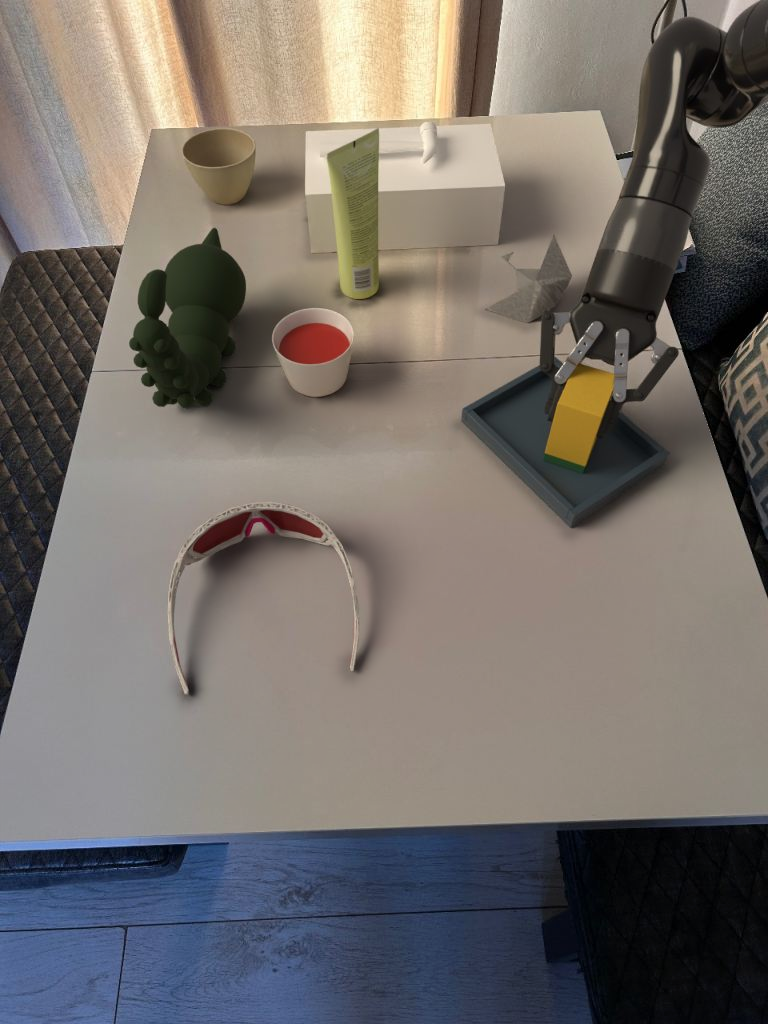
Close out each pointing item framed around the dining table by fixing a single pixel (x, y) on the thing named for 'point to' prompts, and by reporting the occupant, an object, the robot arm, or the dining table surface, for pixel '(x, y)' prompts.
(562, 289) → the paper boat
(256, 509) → the sunglasses
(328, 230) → the tissue box
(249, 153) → the flower pot
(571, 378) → the sponge
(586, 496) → the tray
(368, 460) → the dining table surface
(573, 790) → the dining table surface
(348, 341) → the white round cup
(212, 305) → the toy figurine
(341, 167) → the tube
